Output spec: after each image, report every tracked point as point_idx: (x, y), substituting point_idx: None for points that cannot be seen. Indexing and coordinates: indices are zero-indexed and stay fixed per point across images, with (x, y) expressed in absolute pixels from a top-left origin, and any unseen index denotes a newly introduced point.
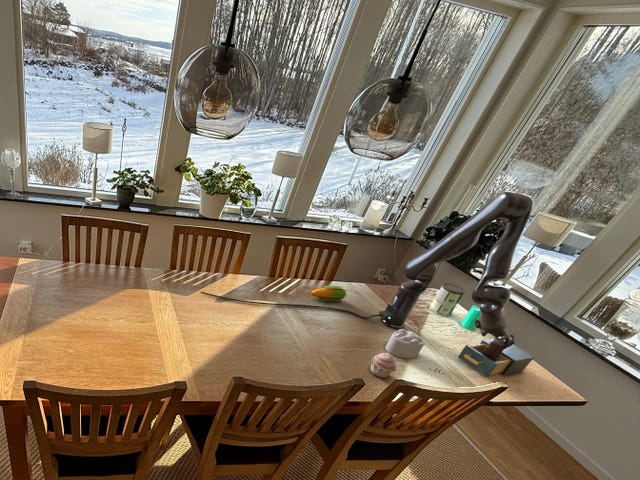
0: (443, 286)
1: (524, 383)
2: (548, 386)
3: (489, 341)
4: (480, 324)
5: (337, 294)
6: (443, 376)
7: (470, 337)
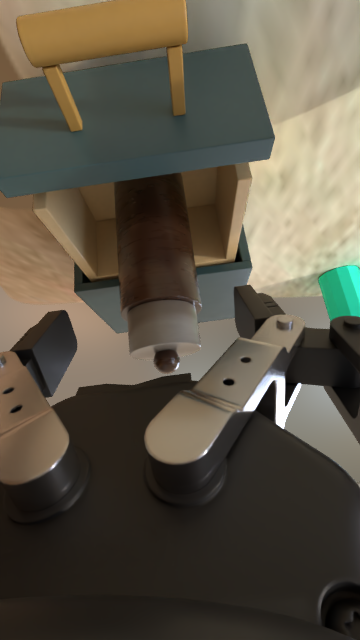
0: None
1: (44, 248)
2: (53, 290)
3: (230, 283)
4: (348, 382)
5: None
6: None
7: (305, 252)
